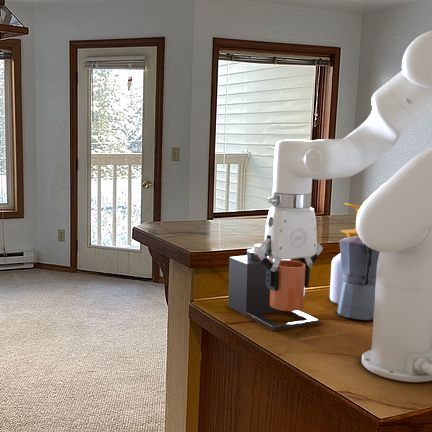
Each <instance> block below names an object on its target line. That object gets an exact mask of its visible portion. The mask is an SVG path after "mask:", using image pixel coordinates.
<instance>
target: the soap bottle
mask: <svg viewBox="0 0 432 432" xmlns="http://www.w3.org/2000/svg"><path fill="white" fill-rule="evenodd" d="M344 206H348V207H350V208H353V209H355V211H356V215H357V214H358V212H359V210H360V208H361V206H360V205H357V204H353V203H348V202H344ZM340 233H343V234H346V237H347V238H349V237H356V236H358V233H357V230H356V226H355V227H354V228H353V229H341V230H340ZM330 266H331V268H330V284H329V285H330V286H329V299H330V302H333V303H335V304H337V305H338V304H339V299H340V294H341V290H342V284H343V282H344V280H343V272H342V266H341V252H340V253H338V254H337V255H335V256H334V257H333V258H332V260H331V265H330Z"/></svg>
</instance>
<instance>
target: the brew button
mask: <svg viewBox="0 0 432 432" xmlns="http://www.w3.org/2000/svg"><path fill="white" fill-rule="evenodd" d="M261 244H262V243H255V244H253V249H254V252H255V251H256V250H257V249H258V247H259V246H260V245H261Z"/></svg>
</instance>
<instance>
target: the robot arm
mask: <svg viewBox="0 0 432 432" xmlns="http://www.w3.org/2000/svg"><path fill="white" fill-rule="evenodd" d="M401 69H402V70H401V71H399V72H398V73H397V74H395V75H394V76H393V77H392V78H390V79H389V80H388V81H387V82H385V83H384V84H383V85H382V86H381V87H379V88H378V89H376V91H374V92H373V94H372V96H371V106H372V110H371V112H370V114H369V116H368V117H367V118H366V120H364V121H363V122H362V123H361V124H359V126H358V127H356V128H355V129H354V130H353V131H351V132H350V133H349V134H347V135H346V136H345V137H343V138H327V139H314V140H307V139H282V140H278V141H277V142H276V143H275V146H274V156H273V157H274V158H273V177H272V178H273V181H272V193H271V194H272V195H271V196H268V199H267V202H268V204H271V207H269V210H268V214H267V218H266V223H265V229H264V230H265V231H264V240H263V242H262V243H260V244H261V245H260V246H259V247H258V249H257V250H256V251H255V252H254V254H255V256H256V257H257V258H258V260H259V261H260V263H261V264H262V265H263V266H264V268H265V269H266V287H267V288H269V289H271V290H273V291H277V290H278V279H279V272H278V271H276V269H277V267H278V265H279V263H280V261H281V260H285V259H290V260H296V259H298V260H297V261H299V262H302V263H305V264H306V276H305V288H309V287H310V274H311V269H312V268H313V266H314V263H315V262H316V260H318V256H319V255H320V254H321V252H322V251H323V250H324V247H323V246H322V245H321V244H320V243H319V242H318V230H317V228H318V227H317V219H316V218H317V217H316V212H315V208H313V207H312V190H313V180H316V181H317V180H318V181H324V180H325V181H326V180H334V179H343V178H344V179H345V178H350V177H353V176H355V175H357V174H359V173H361V172H362V171H364V170H365V169H367V168H368V167H369V166H371V165H372V164H373V163H375V162H377V161H378V160H380V159H381V158H382V157H383V156H384V155H386V154H387V153H388V152H389V151H390V150H391V149H393V148H394V146H395V145H396V144H397V143H398V142H399V141H400V140H401V139H402V138H403V136H404V135H405V133H406V132H407V131H408V130H409V129H411V128H412V127H414V126H415V125H417V124H418V123H419V122H420V121H422V120H423V119H425V118H426V117H427V116H428V115H430V114H431V113H432V30H429V31H426V32H424V33H422V34H420V35H418V36H417V37H415V39H414V40H412V41H411V42H410V44H409V45H408V46H407V47H406V49H405V51H404V53H403V56H402V61H401ZM360 207H361V208H360V210H359V212H358V214H357V213H356V219H355V227H356V230H357V233H358V236H359V238H360V239H361V241H362V242H363V243H364V244H365V245H366V246H368V247H369V248H371V249H373V250H376V251H379V252H380V253H379V257H378V263H377V272H376V287H375V303H374V319H373V320H372V321H373V322H372V337H371V349H369V350H367V351H365V352H363V353H362V355H361V364H362V366H363V367H364V368H365V369H367V370H368V371H369V372H371V373H373V374H375V375H377V376H380V377H383V378H386V379H389V380H394V381H399V382H405V383H426V382H427V383H428V382H431V381H432V147H429V148H427V149H425V150H423V151H421V152H420V153H418V154H417V155H415V156H414V157H412V158H411V159H409V160H408V161H407V162H406V163H405V164H404V165H403V166H402V167H400V169H398V170H397V171H396V172H395V173H394V174H393V175H392V176H391V177H390V178H388V180H386V181H385V182H384V183H383V184H382V185H381V186H380V187H379V188H377V189H376V190H375V191H374V192H373V193H372V194H371V195H370V196H369V197H368V198H367V199H366V200H365V201H364V202H363V203H362V205H361V206H360ZM265 254H267V255H268V257H267V258H266V256H265ZM272 262H273V263H272Z"/></svg>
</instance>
